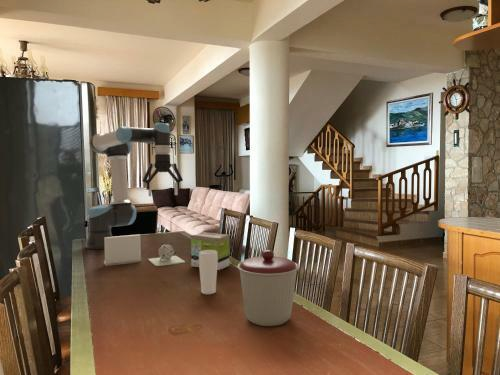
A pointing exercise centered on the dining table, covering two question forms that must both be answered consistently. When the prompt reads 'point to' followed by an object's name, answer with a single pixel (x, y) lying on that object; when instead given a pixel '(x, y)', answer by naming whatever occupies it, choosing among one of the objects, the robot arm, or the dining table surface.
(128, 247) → the screen
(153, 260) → the tile
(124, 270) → the dining table surface
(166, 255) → the game die
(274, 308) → the canister
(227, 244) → the tea box
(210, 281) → the drinking glass
